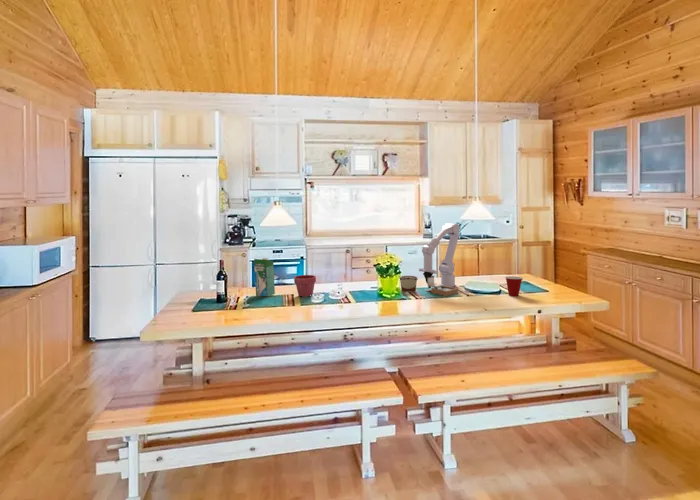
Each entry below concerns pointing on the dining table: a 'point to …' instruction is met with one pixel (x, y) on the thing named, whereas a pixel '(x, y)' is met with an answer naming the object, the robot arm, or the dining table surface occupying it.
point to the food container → (408, 283)
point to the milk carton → (264, 277)
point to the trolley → (431, 283)
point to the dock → (444, 290)
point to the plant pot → (305, 284)
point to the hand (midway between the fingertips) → (428, 283)
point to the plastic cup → (513, 285)
